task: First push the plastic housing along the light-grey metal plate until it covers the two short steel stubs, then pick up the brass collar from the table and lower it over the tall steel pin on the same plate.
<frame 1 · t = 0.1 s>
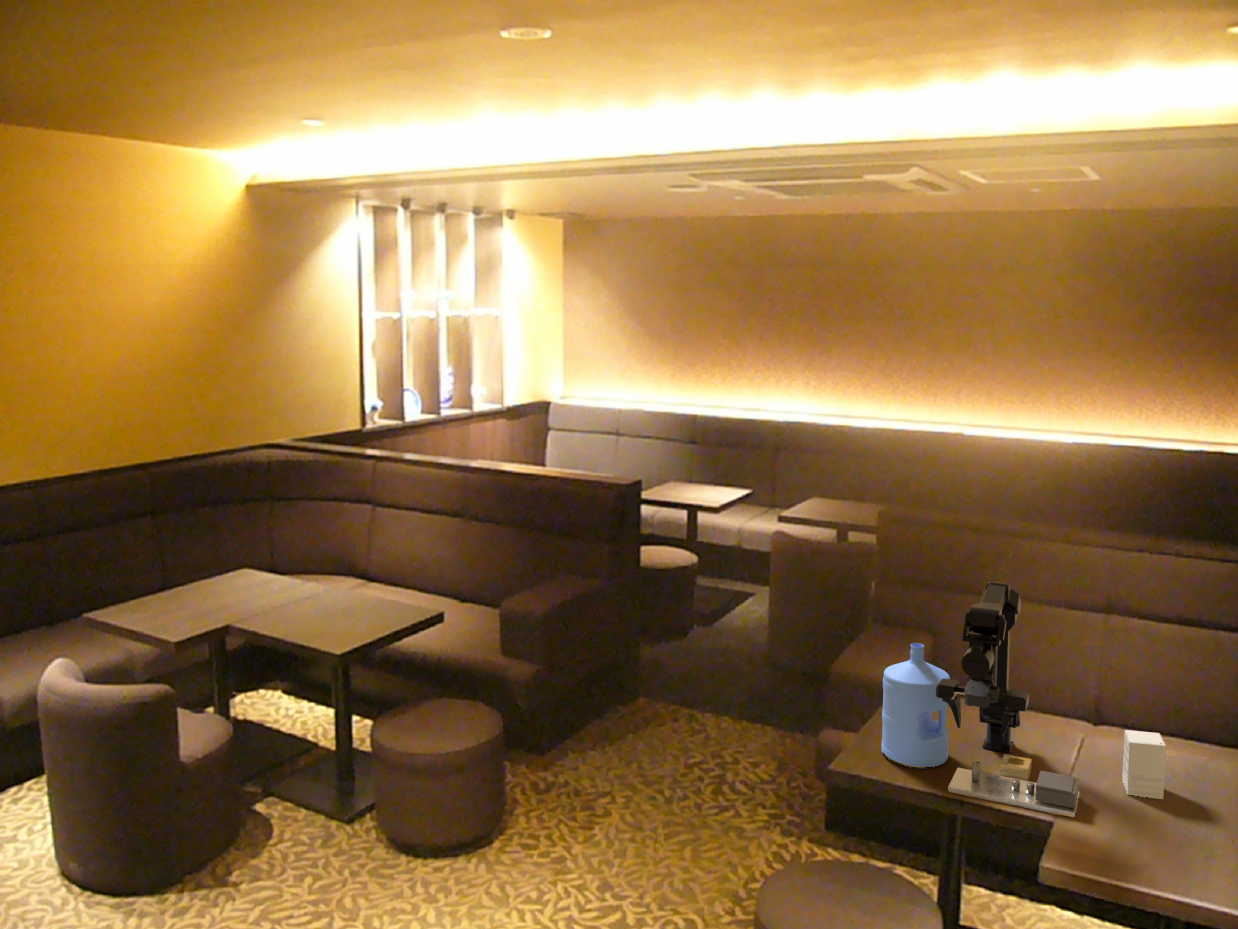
hand: (980, 731, 218), 15 cm above the table, fingers open, 9 cm apart
supplement box: (1142, 791, 220), on the table
pin plate: (1013, 794, 220), on the table
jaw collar: (1015, 773, 230), on the table
housing: (1057, 789, 215), point 3 cm above the table, slide at 6.5 cm
water jug: (914, 756, 240), on the table
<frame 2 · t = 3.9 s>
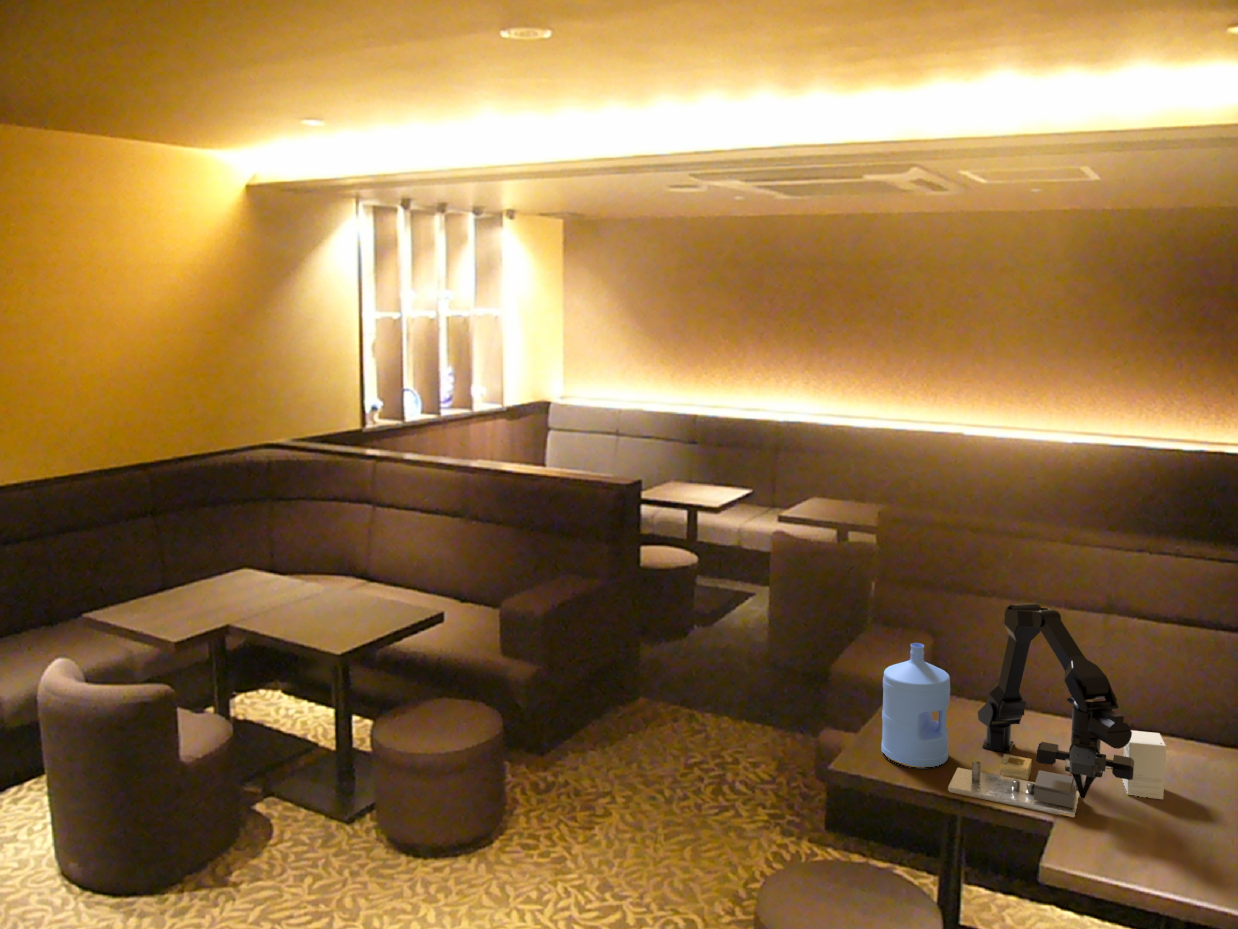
hand: (1082, 797, 213), 2 cm above the table, fingers closed
housing: (1055, 788, 215), point 3 cm above the table, slide at 6.2 cm, touching gripper
everything else where it was.
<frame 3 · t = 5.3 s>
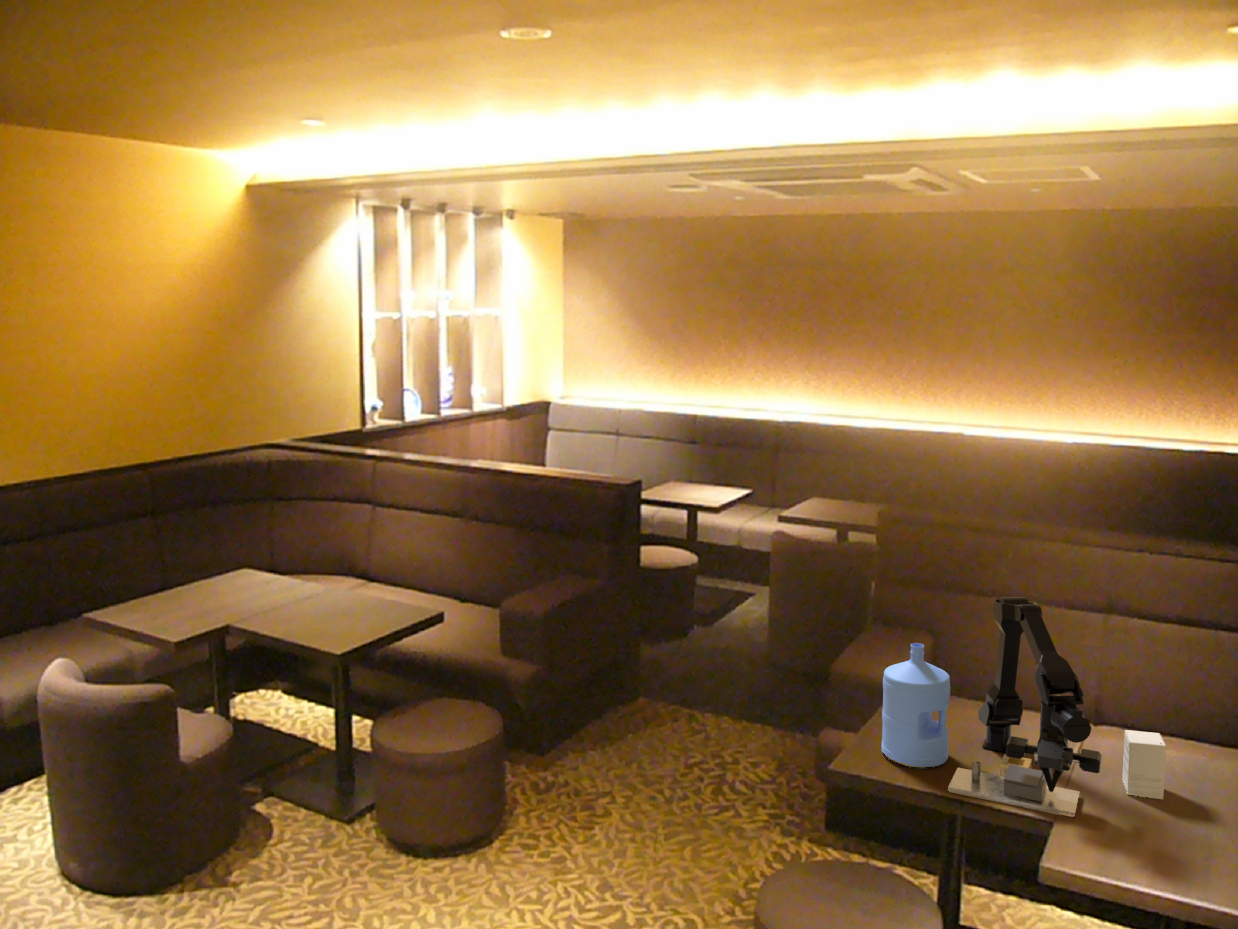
hand: (1051, 791, 216), 2 cm above the table, fingers closed
housing: (1025, 782, 218), point 3 cm above the table, slide at 0.0 cm, touching gripper
everything else where it was.
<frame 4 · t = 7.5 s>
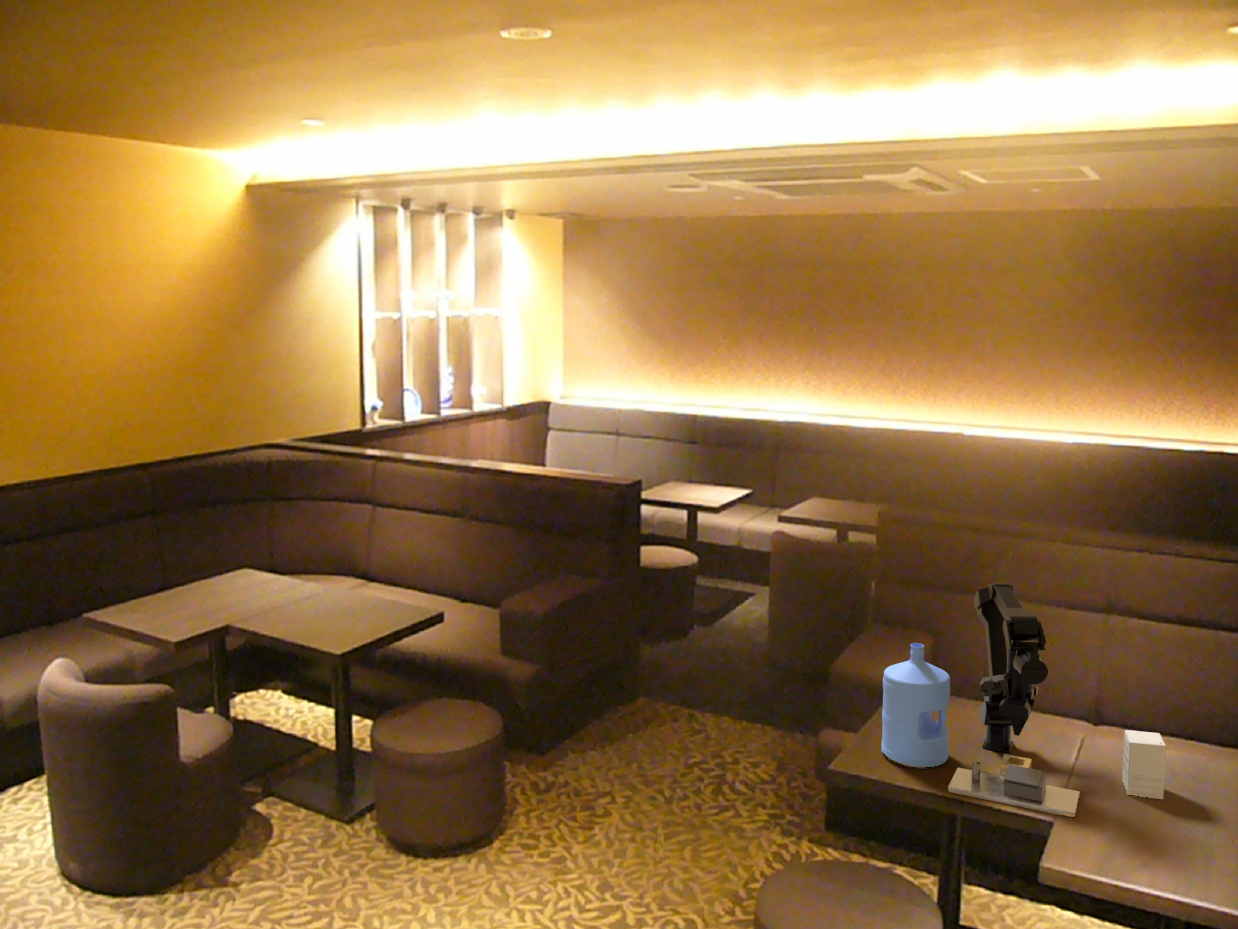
hand: (1017, 733, 228), 10 cm above the table, fingers closed
housing: (1025, 782, 218), point 3 cm above the table, slide at 0.0 cm
everything else where it was.
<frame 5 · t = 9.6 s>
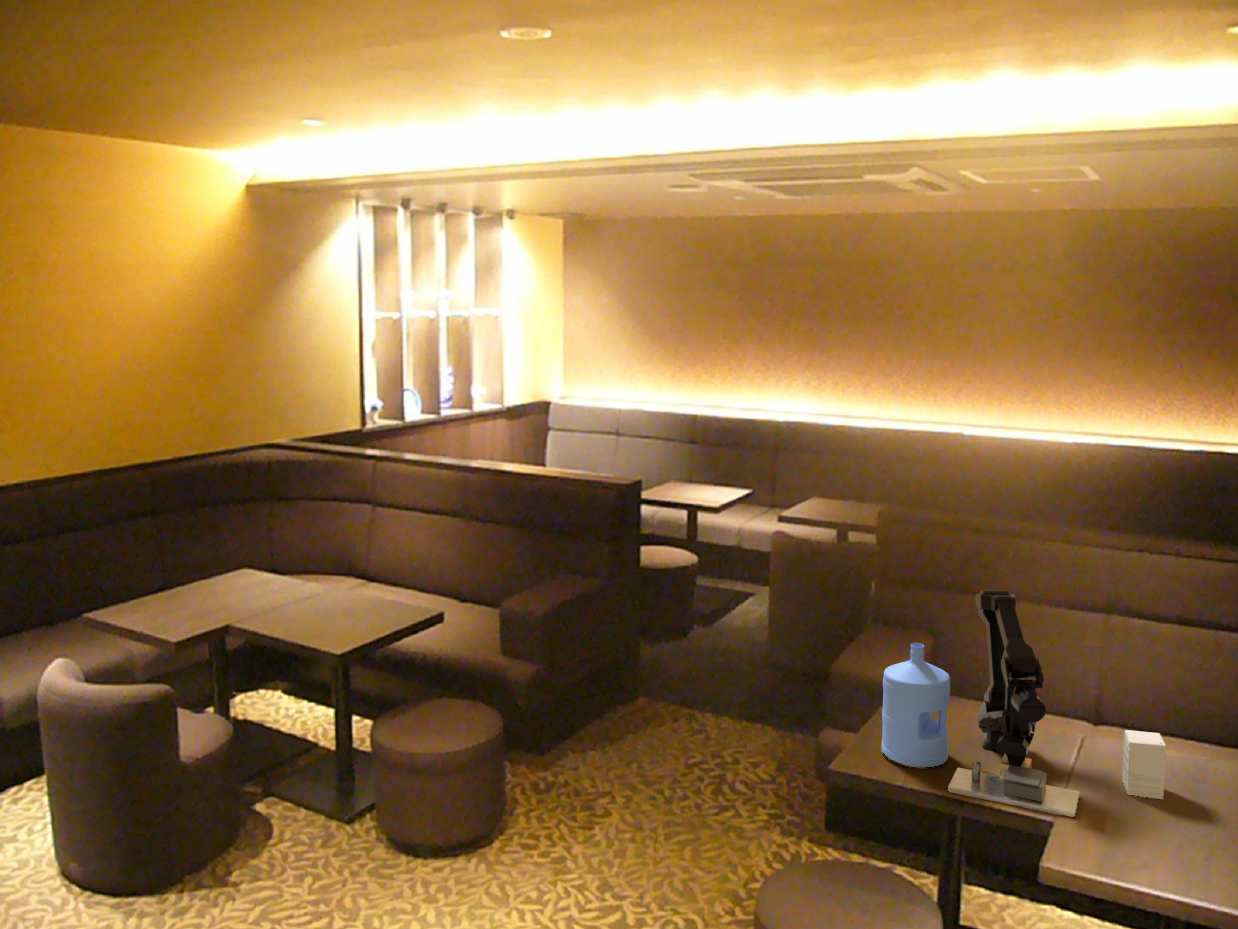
hand: (1015, 769, 229), 1 cm above the table, fingers closed on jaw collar, 6 cm apart
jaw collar: (1015, 773, 230), on the table, touching gripper
everything else where it was.
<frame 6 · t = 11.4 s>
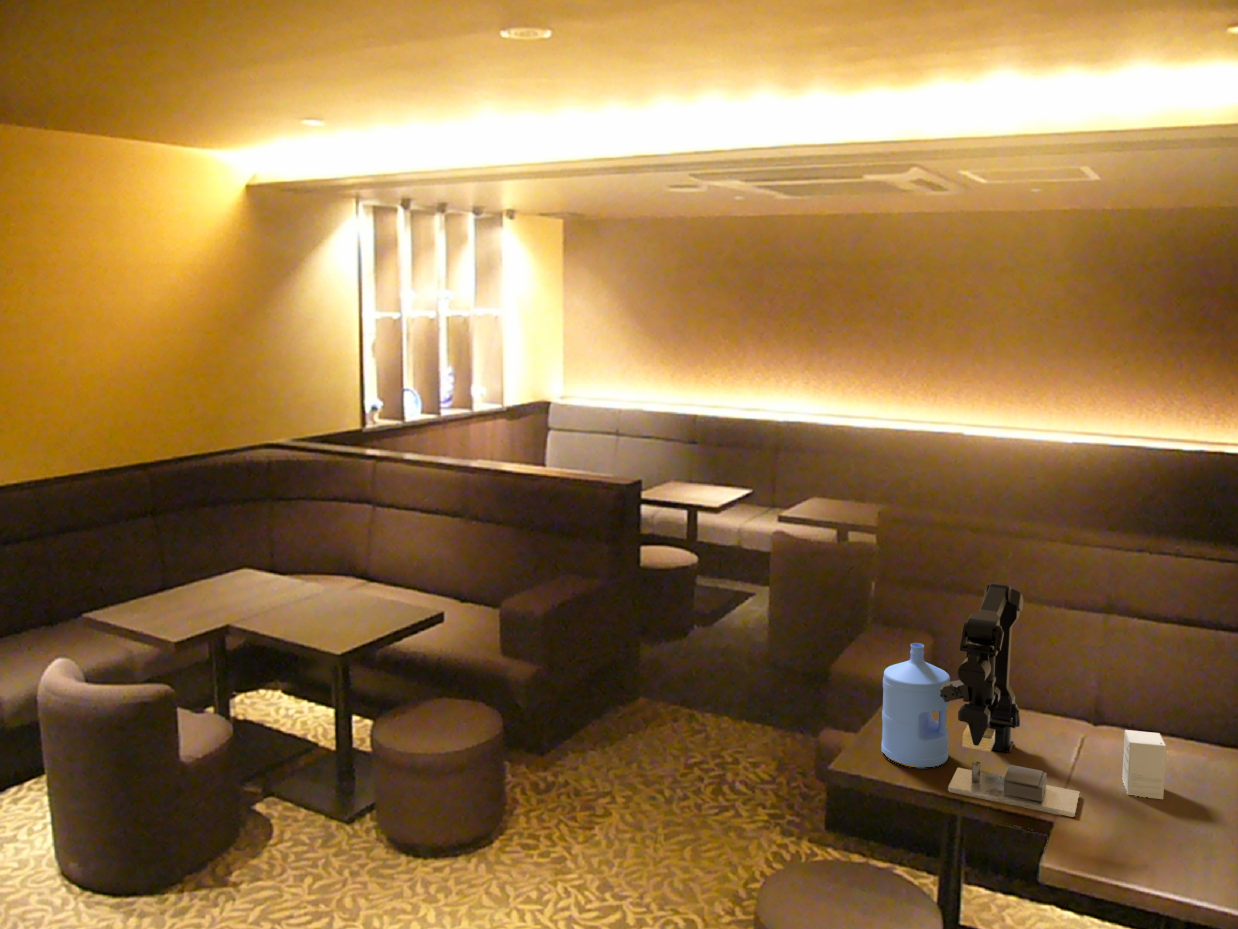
hand: (978, 740, 222), 11 cm above the table, fingers closed on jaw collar, 6 cm apart
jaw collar: (978, 744, 222), point 10 cm above the table, touching gripper
everything else where it was.
when the fingers open (3 cm above the table, at t = 13.2 s): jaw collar drops 1 cm, resting on pin plate.
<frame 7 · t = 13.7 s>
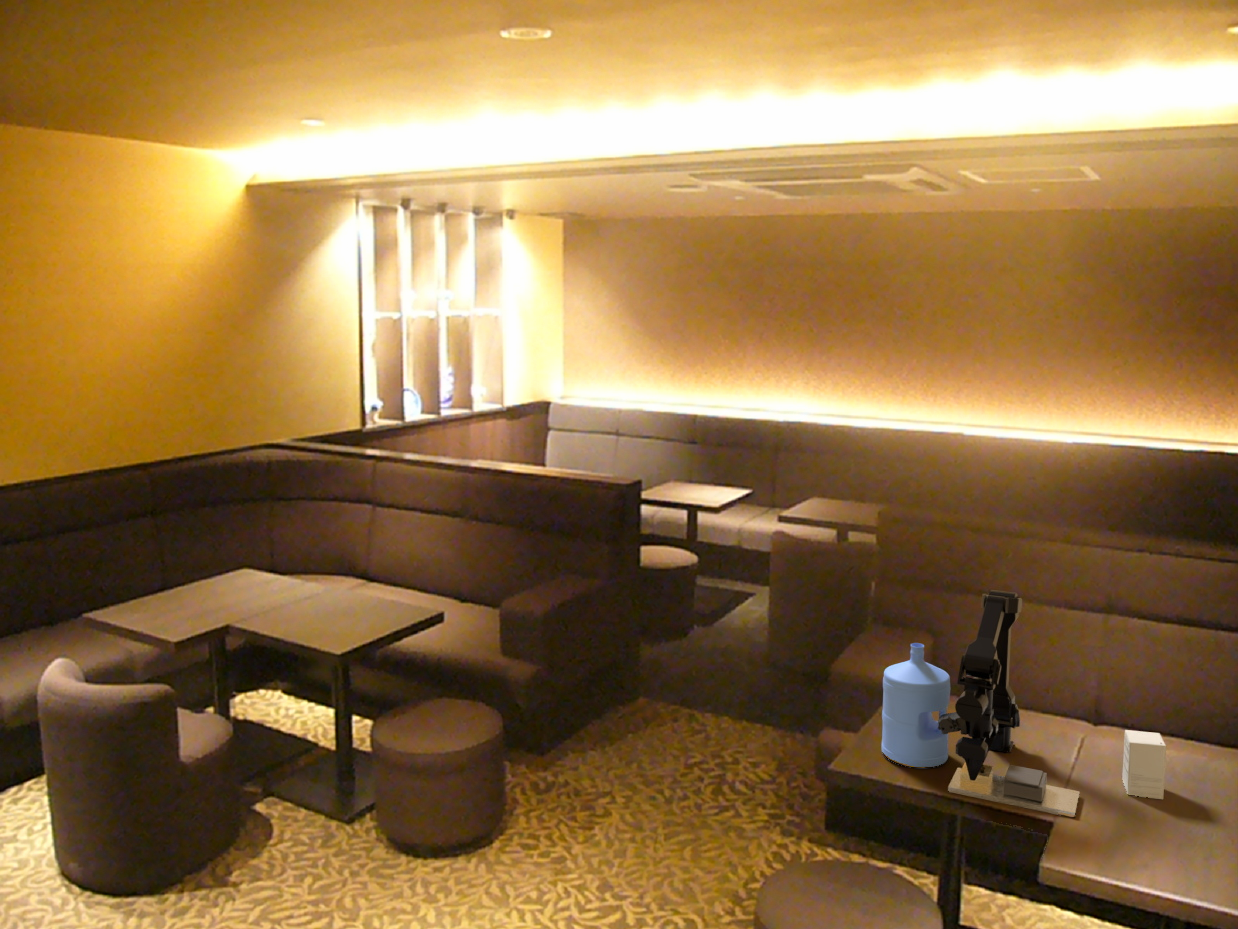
hand: (976, 772, 223), 3 cm above the table, fingers open, 9 cm apart
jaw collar: (976, 781, 223), point 1 cm above the table, touching pin plate
everything else where it was.
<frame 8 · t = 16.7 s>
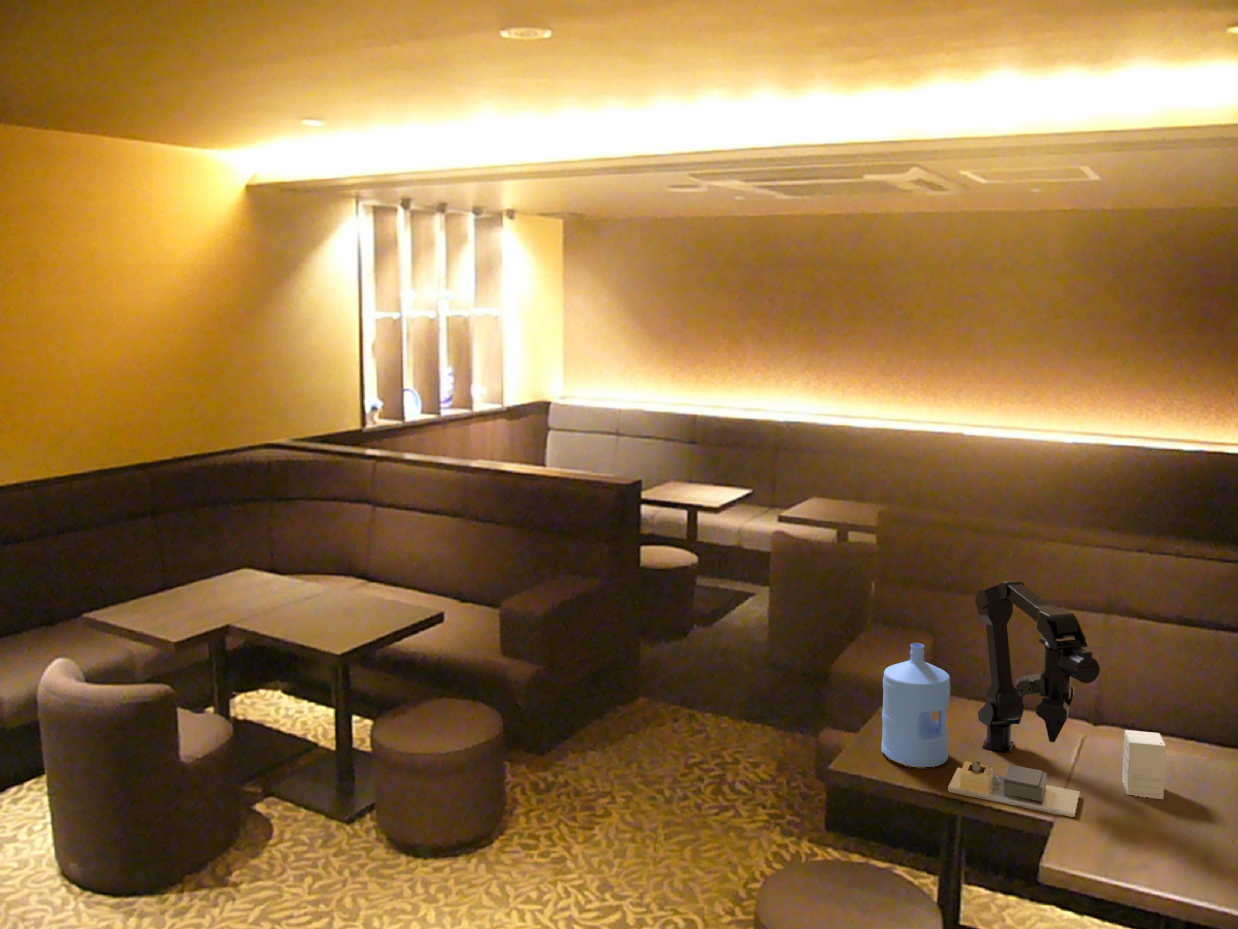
hand: (1054, 734, 222), 12 cm above the table, fingers open, 9 cm apart
nothing on the table moved.
at the end: housing slide at 0.0 cm; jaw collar 0.1 cm from the target spot, point 1.2 cm above the table; the gripper is holding nothing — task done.
